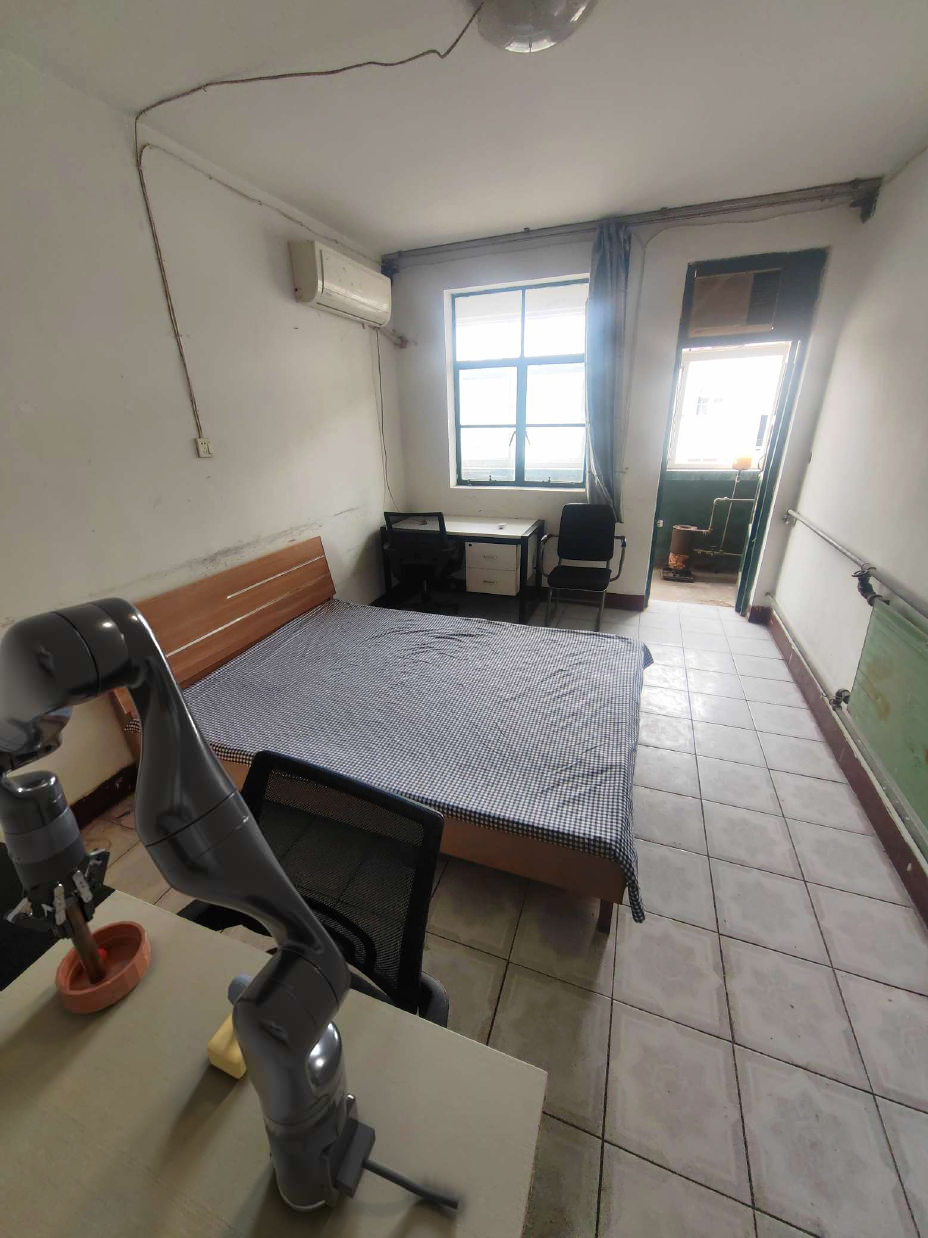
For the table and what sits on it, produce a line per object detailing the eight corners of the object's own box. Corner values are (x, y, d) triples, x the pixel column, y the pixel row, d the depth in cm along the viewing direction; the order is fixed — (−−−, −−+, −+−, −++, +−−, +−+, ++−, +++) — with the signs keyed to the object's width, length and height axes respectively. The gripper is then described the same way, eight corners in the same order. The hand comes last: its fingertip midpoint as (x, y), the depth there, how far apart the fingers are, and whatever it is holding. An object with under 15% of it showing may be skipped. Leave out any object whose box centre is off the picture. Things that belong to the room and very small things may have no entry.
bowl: (168, 954, 82) (162, 933, 81) (98, 1028, 72) (89, 1007, 70) (119, 932, 86) (112, 912, 84) (46, 1000, 75) (36, 978, 74)
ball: (111, 962, 80) (104, 946, 79) (90, 977, 77) (83, 961, 77) (107, 957, 82) (100, 942, 81) (87, 971, 79) (79, 956, 79)
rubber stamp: (240, 1081, 66) (226, 1025, 62) (209, 1063, 68) (194, 1008, 64) (288, 1007, 74) (279, 954, 70) (259, 993, 76) (249, 941, 72)
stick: (110, 971, 78) (81, 898, 73) (96, 986, 75) (65, 911, 70) (100, 968, 78) (69, 895, 73) (85, 983, 76) (53, 908, 71)
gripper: (3, 887, 60) (43, 980, 66) (111, 814, 73) (137, 897, 78) (-32, 871, 63) (9, 961, 68) (78, 803, 75) (105, 884, 81)
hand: (77, 927), depth 73 cm, fingers closed on stick, 2 cm apart
